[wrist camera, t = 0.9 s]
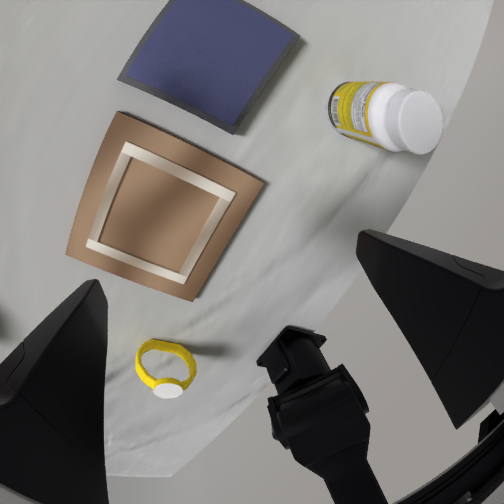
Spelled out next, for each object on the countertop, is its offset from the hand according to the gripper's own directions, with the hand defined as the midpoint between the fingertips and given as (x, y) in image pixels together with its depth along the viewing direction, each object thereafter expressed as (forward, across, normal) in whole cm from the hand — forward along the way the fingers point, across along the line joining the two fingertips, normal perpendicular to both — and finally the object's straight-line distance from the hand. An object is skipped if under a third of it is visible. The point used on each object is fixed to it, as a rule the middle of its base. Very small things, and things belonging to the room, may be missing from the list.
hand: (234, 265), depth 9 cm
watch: (+13, +7, +17) cm, 23 cm away
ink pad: (+13, -1, -9) cm, 16 cm away
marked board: (+13, +4, +3) cm, 14 cm away
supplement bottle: (+13, -12, -4) cm, 18 cm away
